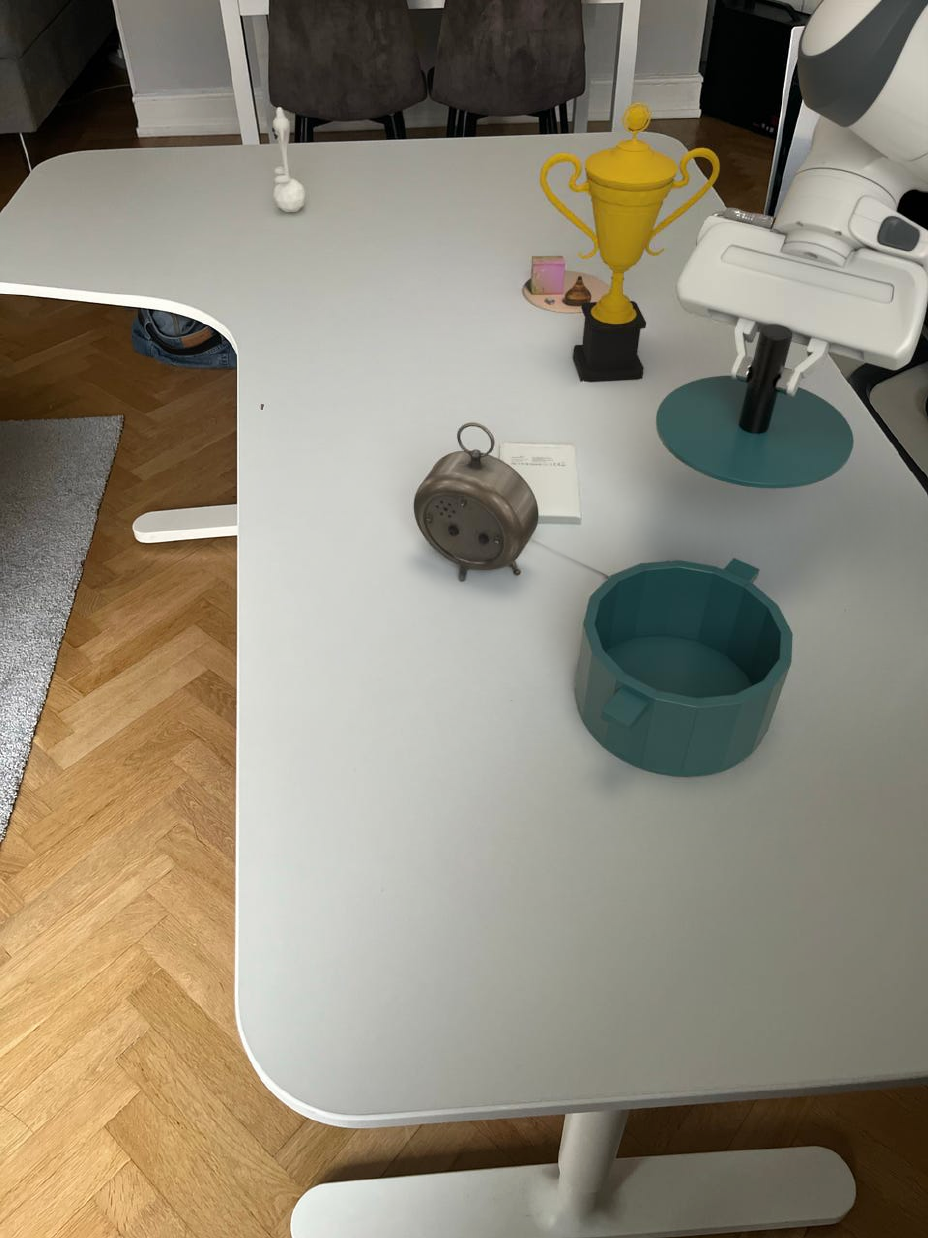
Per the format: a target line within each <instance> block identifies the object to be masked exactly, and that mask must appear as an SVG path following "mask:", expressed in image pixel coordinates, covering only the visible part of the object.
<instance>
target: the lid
mask: <svg viewBox="0 0 928 1238" xmlns="http://www.w3.org/2000/svg"><path fill="white" fill-rule="evenodd" d="M792 336H793V333H792V331H791V330H790V329H789V328H787V327H785V326H782V325H778V324H769V325H765V326H763V327H762V328H761V329H760V333H759V332H758V338H757V341H756V346H755V350H754V355H753V358H754V359H753V363H752V367H751V372H750V376H749V381H748V383H745V382H741V381H738V380H735V379H732V378H731V375H718V376H710V377H705V378H699V379H697V380H693V381H690V382H687V383H685V384H682V385H681V386H679V387H677V388H675V389H673V390H672V391H671V392H669V393H668V394H667V395H666V397H665V398H663V400H662V401H661V403H660V404H659V406H658V409H657V411H656V417H655V429H656V432H657V435H658V438H659V439H660V441H661V443H662V445H663V446H664V447H665V448H666V450H668V452H669V454H671V455H673V456H674V457H675V458H676V459H677V460H679V461H680V462H681V463H683V464H684V466H687V467H689V468H691V469H692V470H694V471H696V472H698V473H701V474H703V475H705V476H707V477H710V478H712V479H715V480H718V481H721V482H725V483H727V484H728V483H729V484H732V485H738V486H743V487H747V488H748V487H749V488H757V489H773V490H775V489H776V490H777V489H791V488H792V489H793V488H799V487H804V486H809V485H812V484H815V483H818V482H821V481H824V480H825V479H828V478H831V476H833V475H835V474H836V473H837V472H839V471H840V470H841V469H842V468H844V466H846V464H847V462H848V461H849V459H850V457H851V454H852V451H853V449H854V434H853V430H852V428H851V425H850V424H849V421H847V418H845V416H844V415H843V414H842V413H841V412H840V411H839V410H838V409H837V408H836V407H835V406H834V405H832V404H831V403H830V402H828V401H827V400H826V399H824V398H822V397H821V396H819V395H817V394H816V393H813V392H811V391H809V390H808V389H804V388H802V387H800V386H799V387H798V389H797V392H796V394H795V396H794V397H791V396H788V395H784V394H781V393H778V392H776V391H777V390H776V384H777V382H778V380H779V379H780V378H781V372H782V370H783V368H786V363H787V359H788V355H789V351H790V347H791V344H792V342H791V340H792Z"/></svg>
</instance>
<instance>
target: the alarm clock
mask: <svg viewBox="0 0 928 1238" xmlns="http://www.w3.org/2000/svg"><path fill="white" fill-rule="evenodd" d="M469 427H476V428H479V429H481V430H483V431H484V432H485V433H486V434H487V436H488V438H489V440H490V448H489V449H488V450H487V452H483V451H482V452H481V451H480V449H477V448H475V449H473V450H469V449H468V448H466V446H465V445H464V444H463V442H462V439H461V435H462V432H463V431H464V430H465V429H467V428H469ZM456 439H457V443H458V445H459V447H460V448H461V449H462V450H457V451H453V452H449V453H447V454H446V455H444V456H443V457H441V458H439V460H437V462H435V464H434V465H433V467H432V469H431V470H430V471H429V473H428V474H427V475H426V477H425V478H424V479H423V481H422V482H421V484H420V485H418V486H419V487H418V488H417V489H416V492H415V494H414V499H413V514H414V520H415V522H416V524H417V527H418V529H419V532H420V533H421V534H422V536H423V537H424V539H425V540H426V541H427V543H428V544H429V545H430V546H431V547H432V548H433V549H434V550H435V551H436V552H437V553H439V554H440V555H441V556H442V557H443V558H445V559H447V560H449V562H452V563H454V564H456V565H457V566H459V572H458V580H459V581H460V582H461V583H463V582H465V581H466V578H467V574H468V570H475V571H485V572H487V571H488V572H489V571H496V570H500V569H503V568H505V567H509V568H510V569H511V570H512V571H513V575H515V576H519V575H520V574H521V569H519V568H518V565H517V562H516V561H517V559H518V558H519V557H520V555H521V554H522V552H523V551H524V549H525V548H526V546H527V544H528V542H529V541H530V539H531V538H532V536H533V534H534V533H535V531H536V529H537V526H538V524H537V523H538V515H539V512H538V505H537V501H536V498H535V496H534V494H533V492H532V490H531V488H530V487H529V485H528V484H527V482H526V481H525V480H524V479H523V478H522V476H521V475H520V474H519V473H518V472H517V471H515V470H514V469H513V468H512V467H511V466H509V465H508V464H506V463H505V462H503V461H502V460H500V459H499V458H498V457H496V456H493V455H490V454H491V453H492V452H493V451H494V449H495V448H494V447H495V444H496V443H495V442H496V441H495V438H494V435H493V434H492V432H491V430H489V429H488V427H487V426H485V425H483V424H481V423H478V422H471V421H470V422H467V423H464V424H462V425H461V426H460V427H459V428H458V430H457V433H456Z"/></svg>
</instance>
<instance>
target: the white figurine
mask: <svg viewBox="0 0 928 1238" xmlns="http://www.w3.org/2000/svg"><path fill="white" fill-rule="evenodd" d="M275 114H276V115H275V118H273V121H272V128H271V132H272V133H273V137H274V140H276V141H277V144H278V147H279V149H280V152H281V159H282V164H283V165H280V166H276V167H275V168H274V170H273V173H274V174H276V175H277V176H275V177H274V182H275V183H277V184H275V185H274V190H273V195H272V196H273V200H274V201H275V205H276V206H277V207H278V208H279V209H281V210H282V211H284V212H285V213H297V212H298V211H299V210H300V209H302V208H303V207H304V206H305V203H306V197H307V193H306V190H305V188H304V186H303V184H302V183H301V182H299V181H298V180H296V179H295V178H293V177H290V172H291V170H290V168H289V153H288V150H289V142H290V133H291V123H290V120H289V119H288V117H286V115H285V113H284V109H283V108H282V107H281V106H278V107H277V108H276V110H275Z"/></svg>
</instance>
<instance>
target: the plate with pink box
mask: <svg viewBox="0 0 928 1238" xmlns="http://www.w3.org/2000/svg"><path fill="white" fill-rule="evenodd" d="M565 268H566V262H565V258H564V255H532V256H531V269H530V278H529V279H528V280H527V281H525V283H524V285H523V286H522V289H521V290H522V291H521V292H522V295H523V297H524V298H525V299H526V301H528V302H529V303H531V304H532V305H534V306H535V307H537V308H540V309H543V310H547V311H551V312H556V313H563V314H564V313H565V314H574V313H575V314H576V313H577V314H579V313H583V311H582V309H581V306H582V304H583V303H589V302H598V301H599V300H600V299H601V297H602V296H603V295H605V294H608V293H609V290H610V287H609V285H608V284H607V283H606V282H605V281H603V280H602V279H601V278H599V277H598V276H595V275H592V274H589V273H586V272H581V271H576V270H566V269H565Z"/></svg>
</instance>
